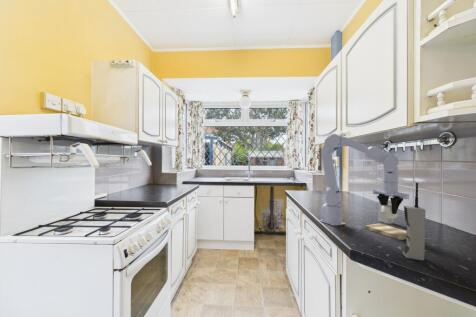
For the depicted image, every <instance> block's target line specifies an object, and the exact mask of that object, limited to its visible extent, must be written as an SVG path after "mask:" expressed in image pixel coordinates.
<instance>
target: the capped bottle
mask: <svg viewBox="0 0 476 317" xmlns="http://www.w3.org/2000/svg"><path fill="white" fill-rule="evenodd" d="M398 210H399V209H398ZM398 210H397V213H396V214H392V205H382V209H381V211H379V210H378V212H379V213H381V217H382V218H387V219H390V218H394V219H395V218H396V219H397V218H398V212H399V211H398Z"/></svg>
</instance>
